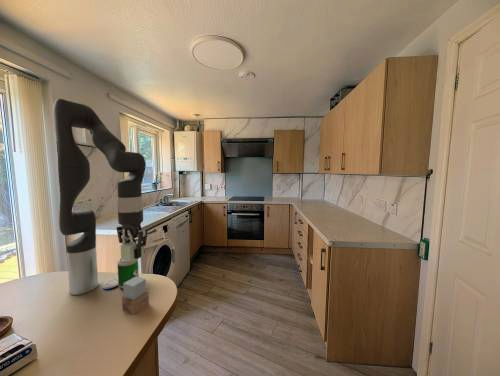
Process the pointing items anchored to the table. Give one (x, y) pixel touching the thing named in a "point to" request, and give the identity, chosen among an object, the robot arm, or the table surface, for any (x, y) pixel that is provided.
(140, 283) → the slate cube
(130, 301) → the walnut block
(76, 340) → the table surface
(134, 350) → the table surface
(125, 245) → the sage cube
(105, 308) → the table surface
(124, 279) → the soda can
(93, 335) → the table surface
